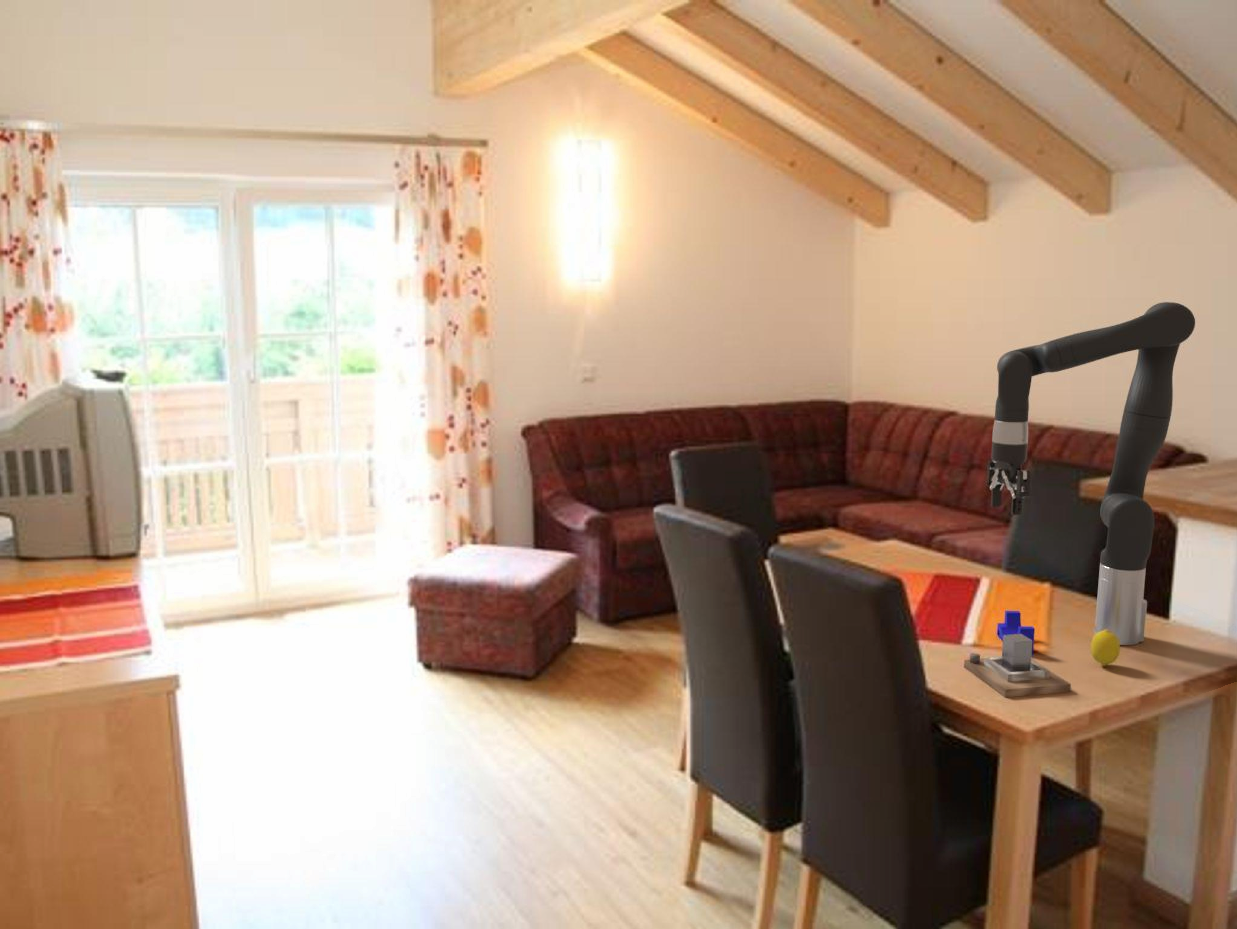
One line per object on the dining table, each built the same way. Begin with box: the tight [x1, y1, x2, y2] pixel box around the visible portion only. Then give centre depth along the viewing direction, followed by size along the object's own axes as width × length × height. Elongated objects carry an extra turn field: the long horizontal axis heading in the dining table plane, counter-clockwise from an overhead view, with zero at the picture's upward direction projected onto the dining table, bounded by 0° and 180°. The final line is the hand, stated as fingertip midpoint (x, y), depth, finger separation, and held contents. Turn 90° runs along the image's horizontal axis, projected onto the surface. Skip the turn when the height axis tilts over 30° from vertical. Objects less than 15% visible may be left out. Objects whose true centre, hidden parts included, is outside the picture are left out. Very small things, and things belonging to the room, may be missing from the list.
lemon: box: [1090, 629, 1121, 667], centre depth 214 cm, size 6×6×8 cm
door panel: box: [963, 652, 1072, 698], centre depth 208 cm, size 14×16×3 cm
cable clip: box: [996, 610, 1036, 656], centre depth 227 cm, size 12×4×6 cm, turn 174°
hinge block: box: [1001, 634, 1032, 672], centre depth 207 cm, size 4×4×7 cm
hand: (1005, 510), depth 233 cm, fingers open, 8 cm apart
